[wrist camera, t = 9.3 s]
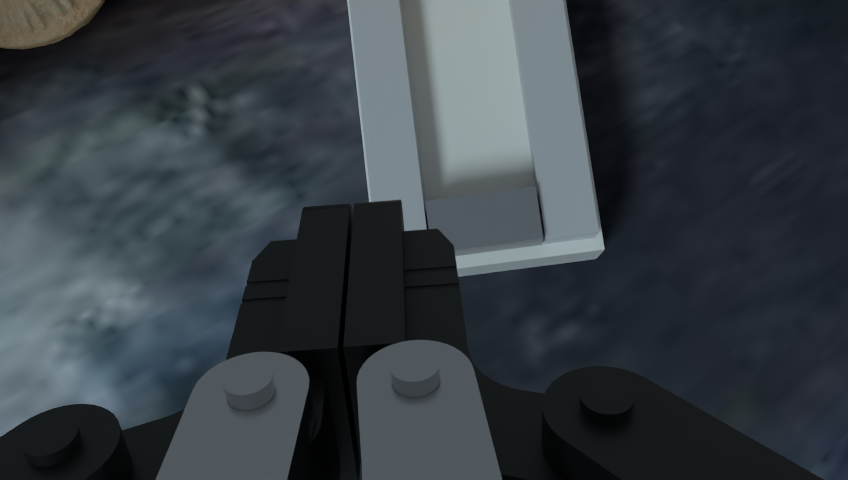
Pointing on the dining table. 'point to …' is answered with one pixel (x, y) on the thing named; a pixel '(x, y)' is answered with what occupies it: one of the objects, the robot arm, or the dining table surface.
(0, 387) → the dining table surface
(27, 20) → the pottery oil lamp
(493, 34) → the base
